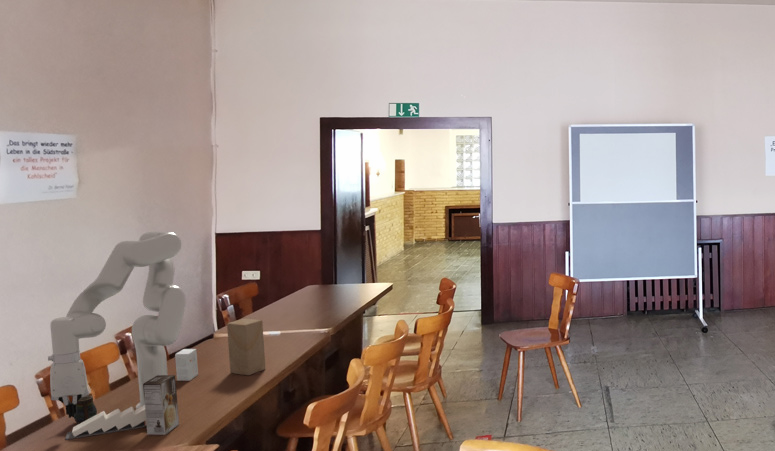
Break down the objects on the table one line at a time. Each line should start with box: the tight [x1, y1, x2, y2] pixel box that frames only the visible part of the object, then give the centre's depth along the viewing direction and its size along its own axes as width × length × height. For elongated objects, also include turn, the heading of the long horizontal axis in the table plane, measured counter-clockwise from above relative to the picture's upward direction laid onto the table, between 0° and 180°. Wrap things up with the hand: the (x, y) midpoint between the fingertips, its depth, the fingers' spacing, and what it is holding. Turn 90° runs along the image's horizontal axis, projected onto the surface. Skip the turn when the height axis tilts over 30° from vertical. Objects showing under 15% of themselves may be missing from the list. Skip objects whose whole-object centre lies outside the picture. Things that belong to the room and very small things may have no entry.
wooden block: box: [226, 318, 267, 376], centre depth 285 cm, size 10×10×20 cm
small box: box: [174, 348, 199, 382], centre depth 281 cm, size 8×6×10 cm
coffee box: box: [143, 374, 180, 436], centre depth 223 cm, size 9×6×16 cm
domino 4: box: [116, 405, 146, 430], centre depth 228 cm, size 5×2×10 cm
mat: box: [65, 421, 146, 441], centre depth 226 cm, size 6×23×1 cm, turn 110°
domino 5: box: [130, 415, 146, 428], centre depth 229 cm, size 5×2×10 cm
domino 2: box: [87, 408, 122, 434], centre depth 225 cm, size 5×2×10 cm
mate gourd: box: [71, 395, 98, 424], centre depth 234 cm, size 7×8×10 cm
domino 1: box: [71, 410, 107, 437], centre depth 224 cm, size 5×2×10 cm
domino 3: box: [102, 406, 135, 432], centre depth 227 cm, size 5×2×10 cm
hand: (71, 416), depth 222 cm, fingers closed
